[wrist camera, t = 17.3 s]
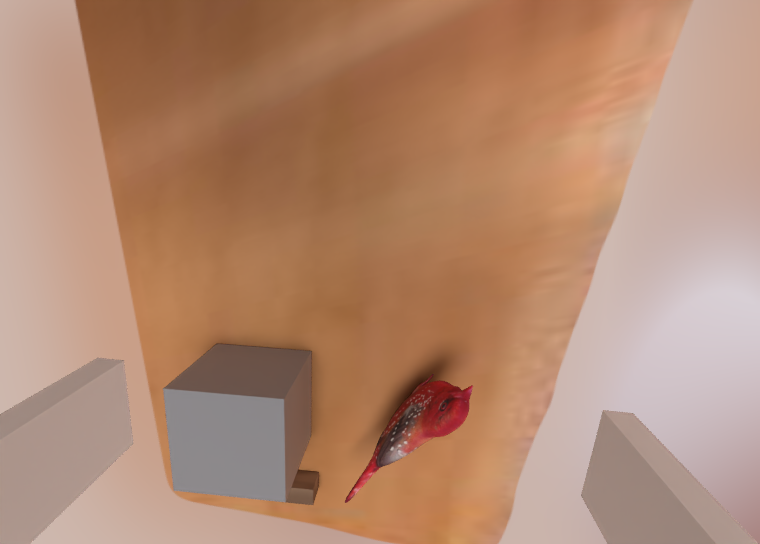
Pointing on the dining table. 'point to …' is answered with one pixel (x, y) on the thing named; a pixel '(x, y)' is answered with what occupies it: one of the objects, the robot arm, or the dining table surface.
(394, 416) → the decorative bird figurine
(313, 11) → the dining table surface
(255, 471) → the gray storage cube
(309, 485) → the strip
